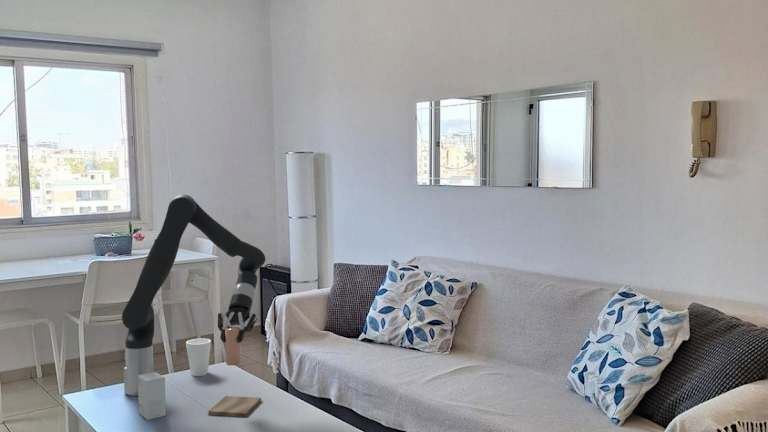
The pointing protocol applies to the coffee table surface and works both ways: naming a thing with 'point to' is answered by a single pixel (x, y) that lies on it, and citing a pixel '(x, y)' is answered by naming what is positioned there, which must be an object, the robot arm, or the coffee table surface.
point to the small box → (151, 395)
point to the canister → (232, 346)
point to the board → (235, 406)
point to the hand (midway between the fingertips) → (231, 341)
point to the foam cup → (198, 355)
